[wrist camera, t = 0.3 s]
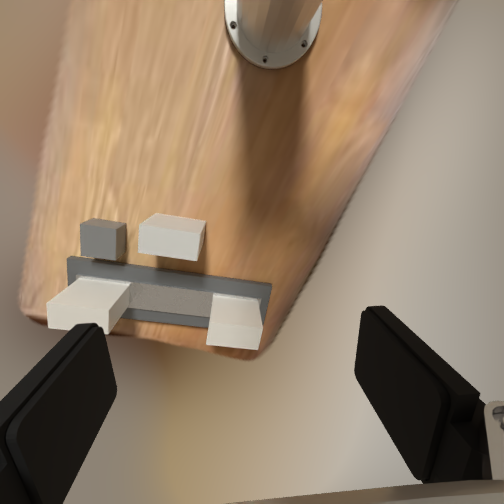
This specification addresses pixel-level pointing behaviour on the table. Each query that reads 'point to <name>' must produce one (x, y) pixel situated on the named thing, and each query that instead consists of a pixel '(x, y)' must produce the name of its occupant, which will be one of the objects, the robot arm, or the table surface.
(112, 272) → the rail board
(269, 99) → the table surface
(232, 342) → the mounted modules
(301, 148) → the table surface
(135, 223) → the table surface
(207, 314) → the metal rail
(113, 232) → the block
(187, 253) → the block
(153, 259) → the table surface
